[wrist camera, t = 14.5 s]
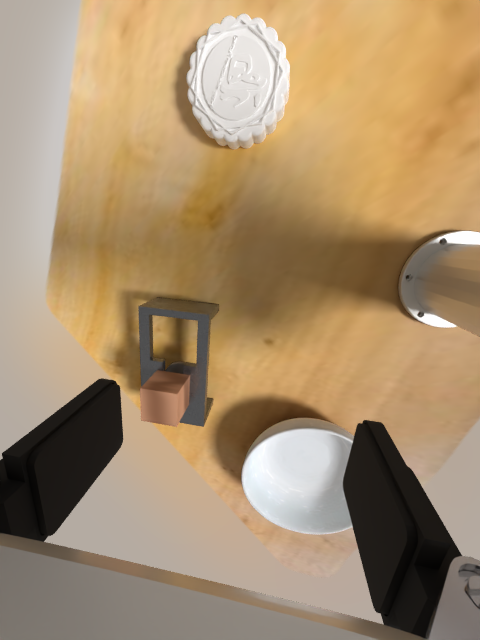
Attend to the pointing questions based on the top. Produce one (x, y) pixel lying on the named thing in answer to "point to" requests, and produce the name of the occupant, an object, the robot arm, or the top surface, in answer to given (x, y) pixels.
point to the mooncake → (239, 81)
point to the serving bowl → (300, 475)
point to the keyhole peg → (165, 395)
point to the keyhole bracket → (197, 372)
